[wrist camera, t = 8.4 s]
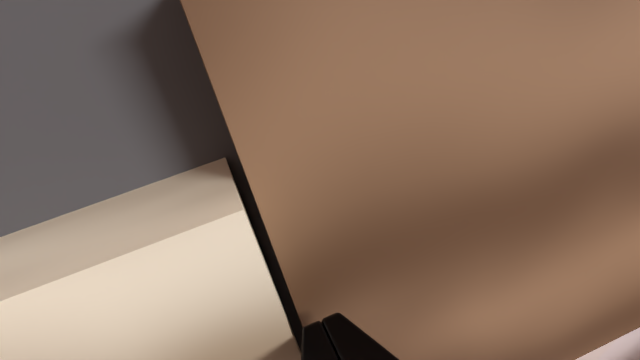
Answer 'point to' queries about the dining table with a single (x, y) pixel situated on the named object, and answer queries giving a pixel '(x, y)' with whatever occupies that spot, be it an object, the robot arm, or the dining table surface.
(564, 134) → the serving board
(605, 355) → the dining table surface
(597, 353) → the dining table surface
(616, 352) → the dining table surface
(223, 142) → the bar mat
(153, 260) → the coaster
